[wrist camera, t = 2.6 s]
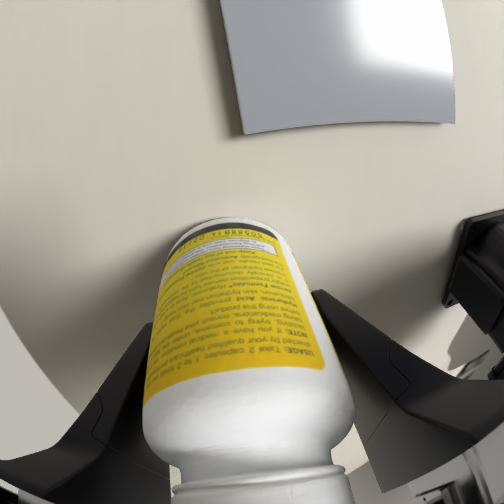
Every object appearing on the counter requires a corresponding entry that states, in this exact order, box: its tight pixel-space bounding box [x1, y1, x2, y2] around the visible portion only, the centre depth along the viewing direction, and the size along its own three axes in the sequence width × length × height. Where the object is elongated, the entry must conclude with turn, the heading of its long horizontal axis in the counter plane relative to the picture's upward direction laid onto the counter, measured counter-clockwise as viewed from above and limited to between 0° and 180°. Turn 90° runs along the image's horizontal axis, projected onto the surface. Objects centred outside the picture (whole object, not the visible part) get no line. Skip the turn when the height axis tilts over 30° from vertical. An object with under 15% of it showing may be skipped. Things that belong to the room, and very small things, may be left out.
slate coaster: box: [219, 0, 455, 135], centre depth 6 cm, size 9×9×1 cm
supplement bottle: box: [143, 217, 355, 504], centre depth 8 cm, size 5×5×10 cm
